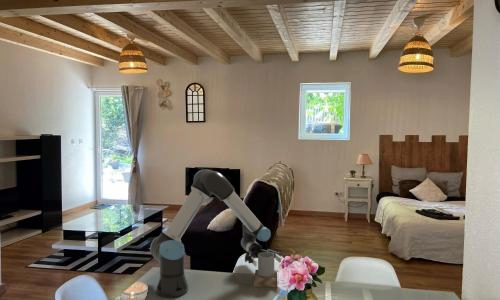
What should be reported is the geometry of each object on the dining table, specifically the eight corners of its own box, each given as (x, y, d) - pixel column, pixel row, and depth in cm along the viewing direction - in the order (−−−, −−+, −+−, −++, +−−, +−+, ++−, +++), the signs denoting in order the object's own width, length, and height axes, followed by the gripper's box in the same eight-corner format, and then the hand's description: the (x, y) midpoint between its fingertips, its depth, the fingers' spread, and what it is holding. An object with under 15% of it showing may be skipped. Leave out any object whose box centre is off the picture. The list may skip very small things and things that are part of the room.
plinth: (253, 286, 186) (253, 277, 186) (255, 277, 198) (255, 269, 198) (277, 287, 185) (277, 278, 184) (278, 277, 197) (278, 269, 196)
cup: (274, 270, 195) (274, 252, 194) (274, 277, 187) (274, 257, 186) (258, 270, 196) (258, 251, 195) (257, 276, 187) (257, 256, 187)
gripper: (275, 253, 212) (291, 266, 192) (233, 258, 204) (245, 272, 184) (275, 240, 211) (291, 252, 191) (233, 245, 204) (245, 257, 183)
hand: (268, 262), depth 188 cm, fingers open, 13 cm apart
